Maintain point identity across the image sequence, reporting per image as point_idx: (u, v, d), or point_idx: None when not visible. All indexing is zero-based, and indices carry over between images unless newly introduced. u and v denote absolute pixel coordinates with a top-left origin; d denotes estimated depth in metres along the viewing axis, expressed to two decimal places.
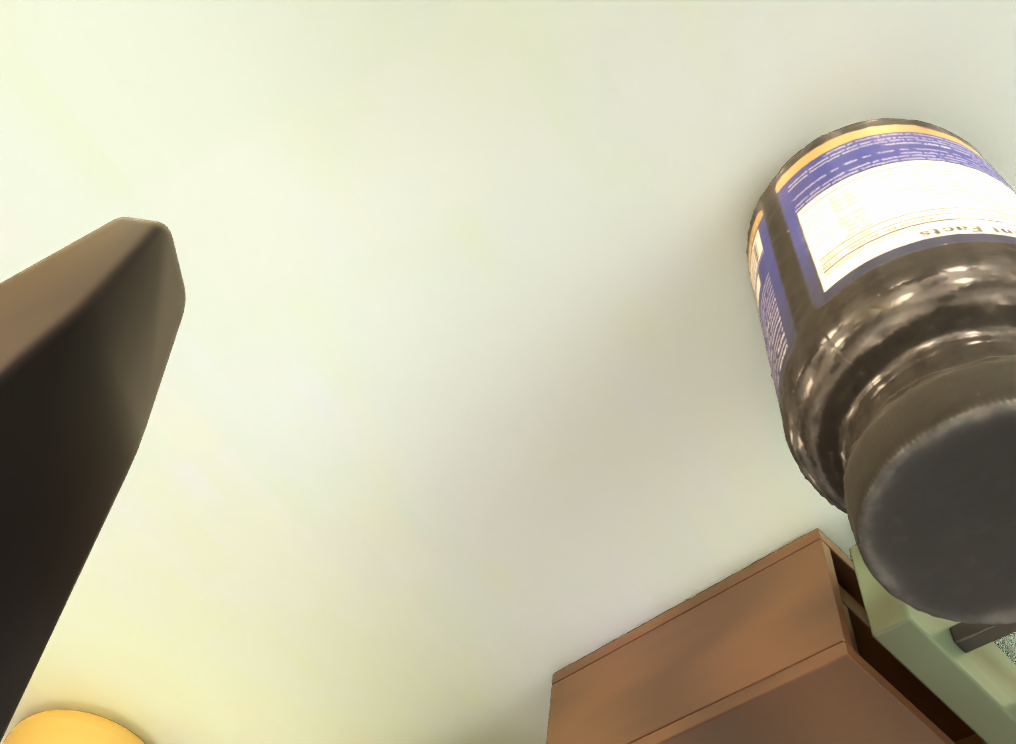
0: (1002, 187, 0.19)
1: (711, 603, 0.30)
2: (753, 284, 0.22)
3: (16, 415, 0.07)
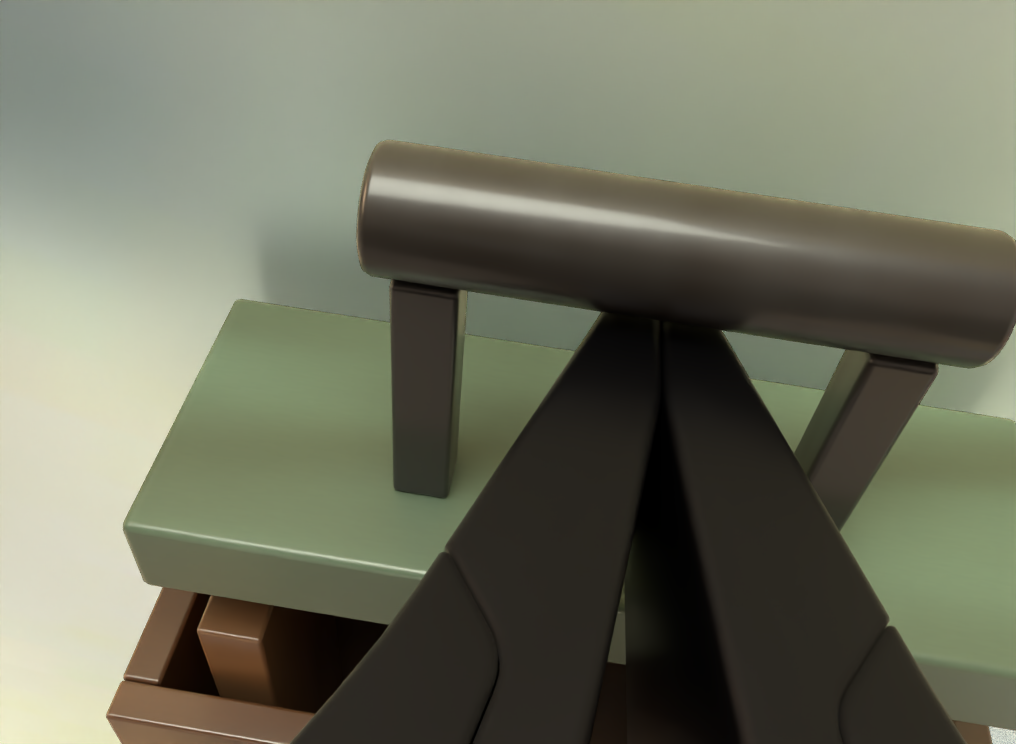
0: None
1: None
2: None
3: None
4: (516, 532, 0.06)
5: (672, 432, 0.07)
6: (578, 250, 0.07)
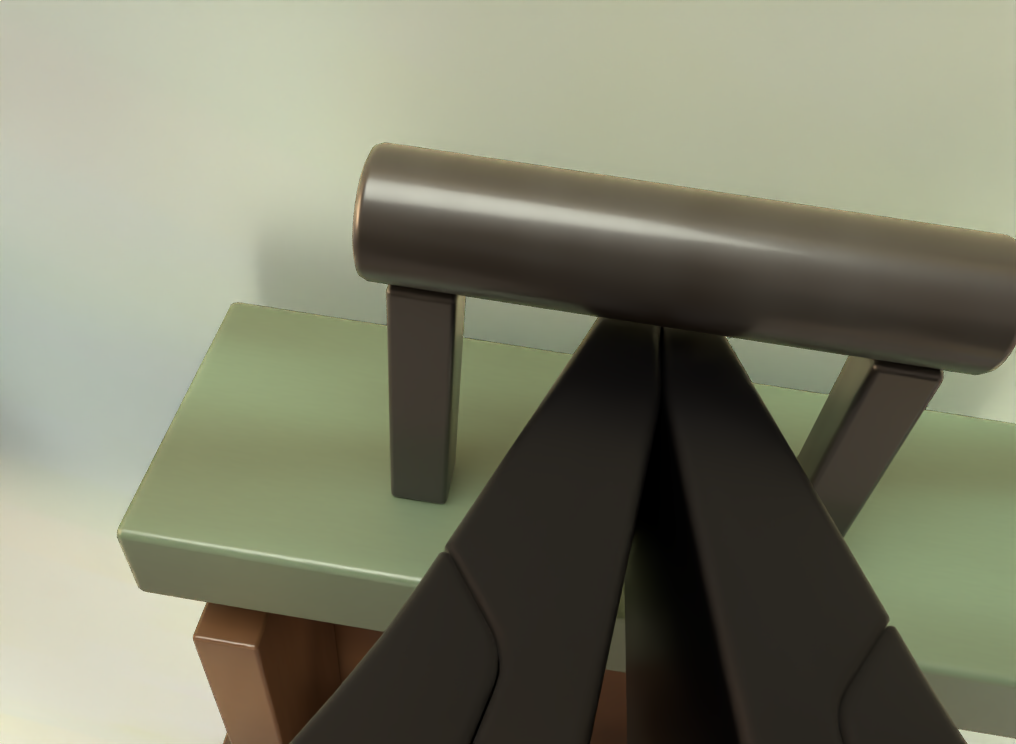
0: None
1: None
2: None
3: None
4: (516, 532, 0.06)
5: (672, 432, 0.07)
6: (578, 254, 0.07)
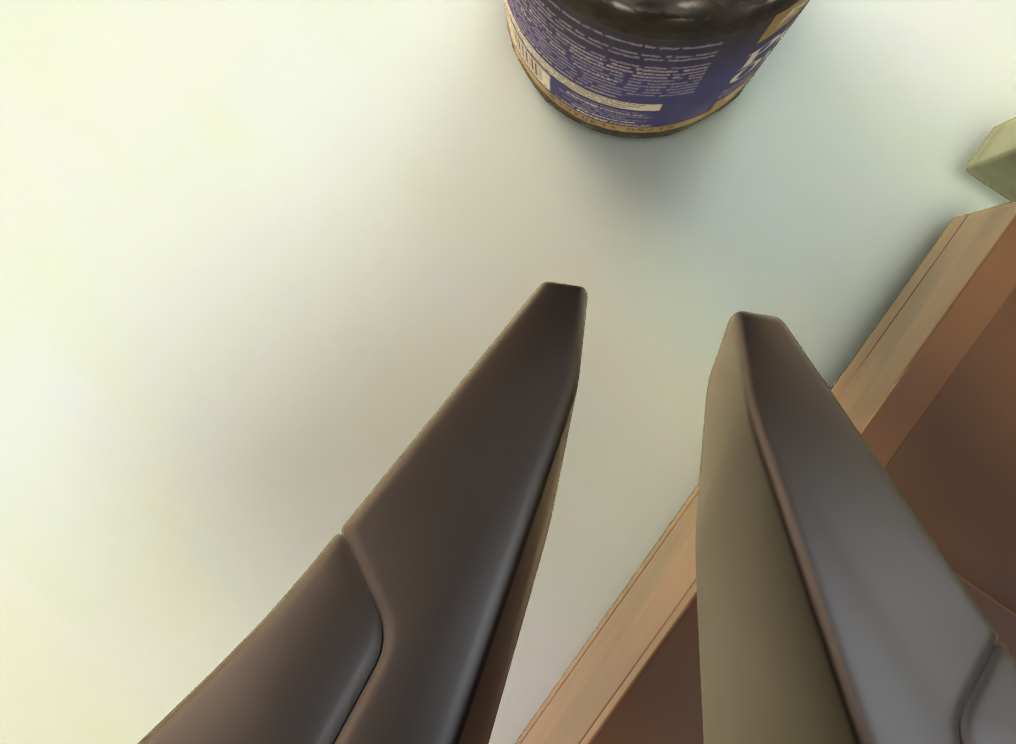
0: None
1: (636, 583, 0.21)
2: (512, 29, 0.20)
3: (544, 501, 0.06)
4: (414, 516, 0.06)
5: (759, 446, 0.07)
6: None
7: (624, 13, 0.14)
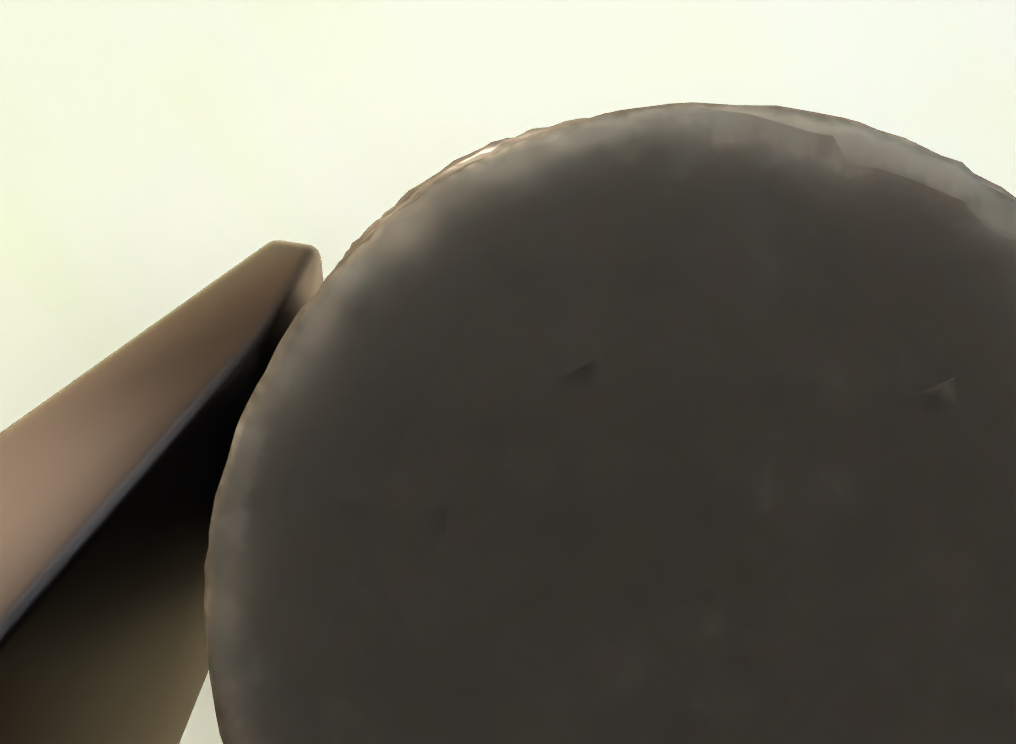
0: None
1: None
2: None
3: (206, 446, 0.07)
4: (33, 453, 0.06)
5: None
6: None
7: None
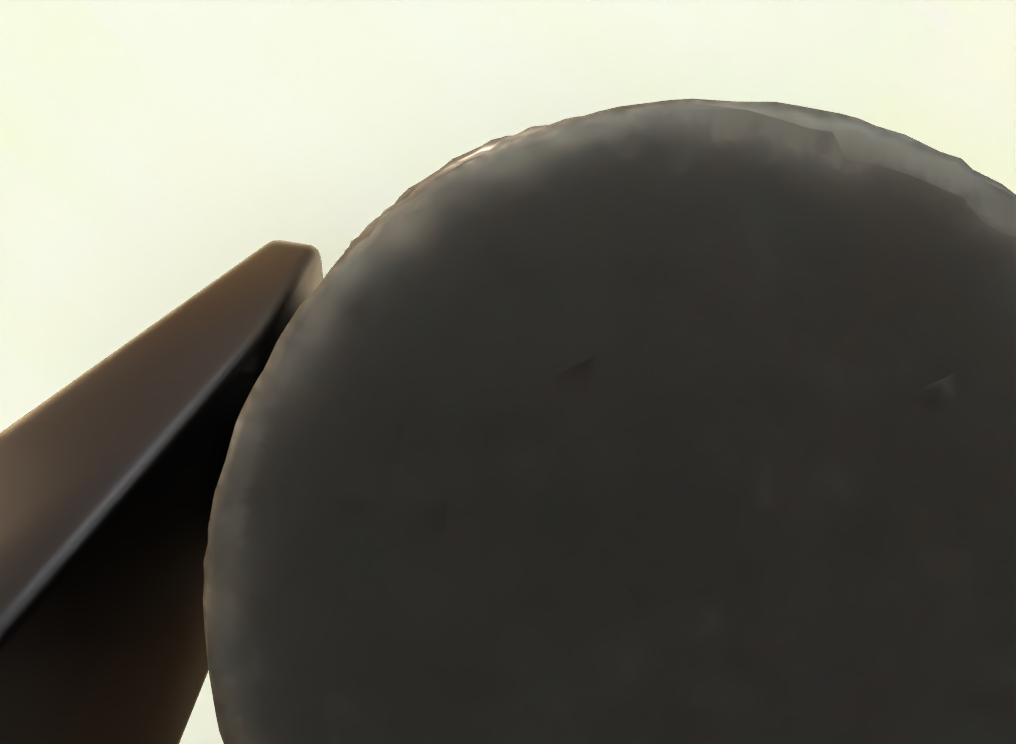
0: None
1: None
2: None
3: (206, 446, 0.07)
4: (33, 453, 0.06)
5: None
6: None
7: None
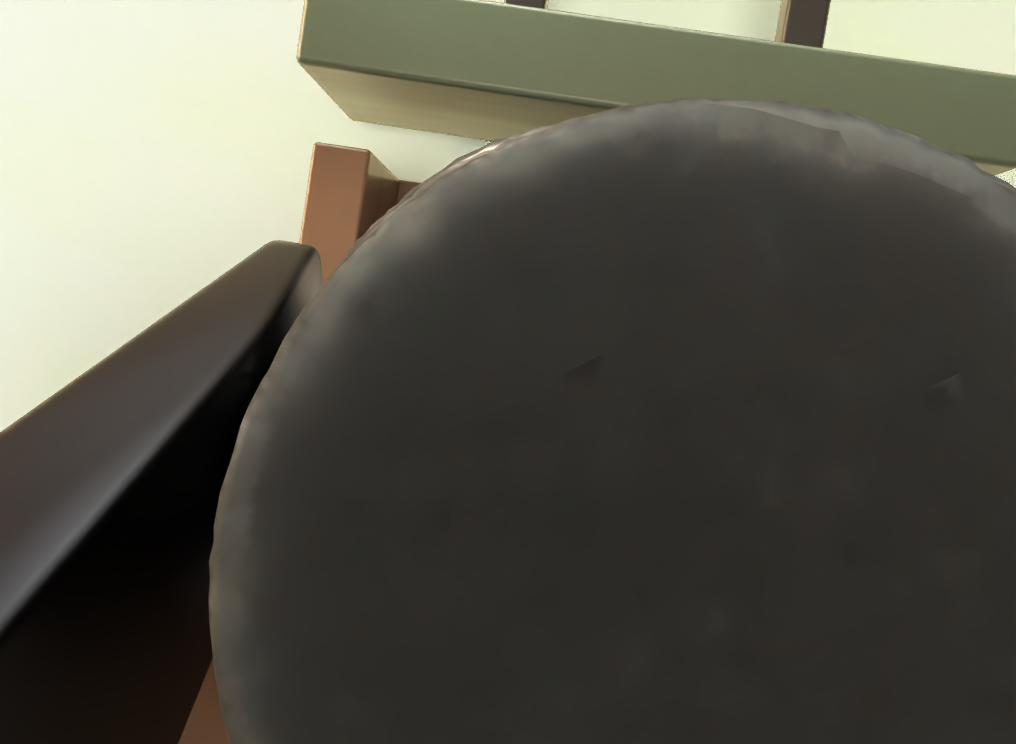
0: None
1: None
2: None
3: (205, 446, 0.07)
4: (33, 453, 0.06)
5: None
6: None
7: None
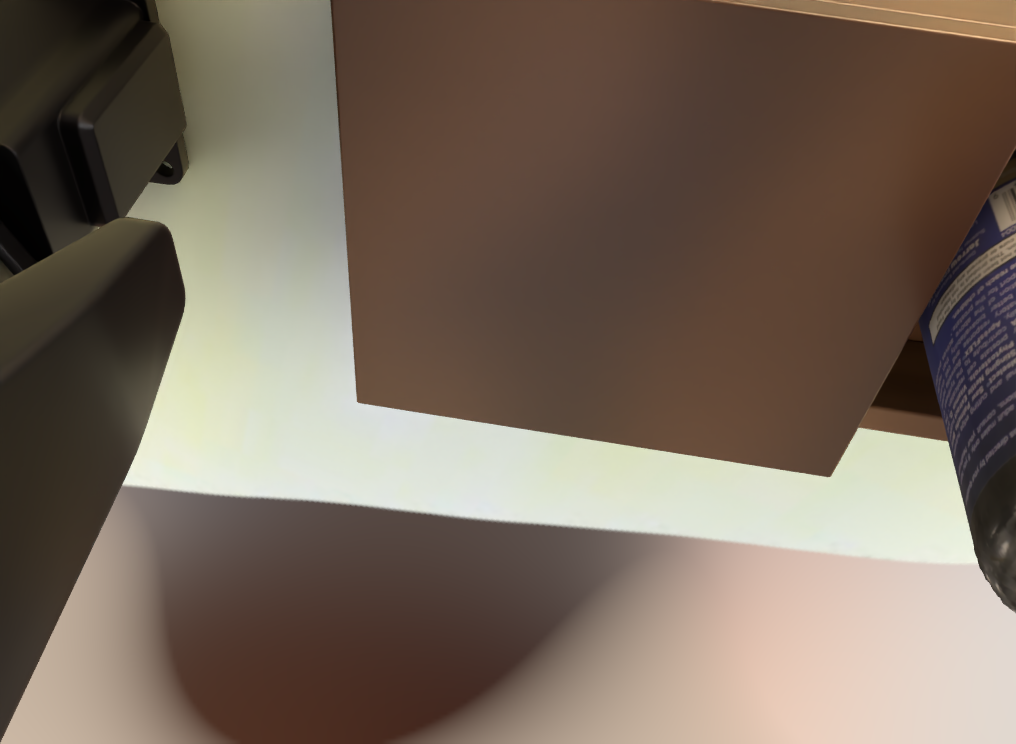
0: None
1: None
2: None
3: (16, 415, 0.07)
4: None
5: None
6: None
7: None
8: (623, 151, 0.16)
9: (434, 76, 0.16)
